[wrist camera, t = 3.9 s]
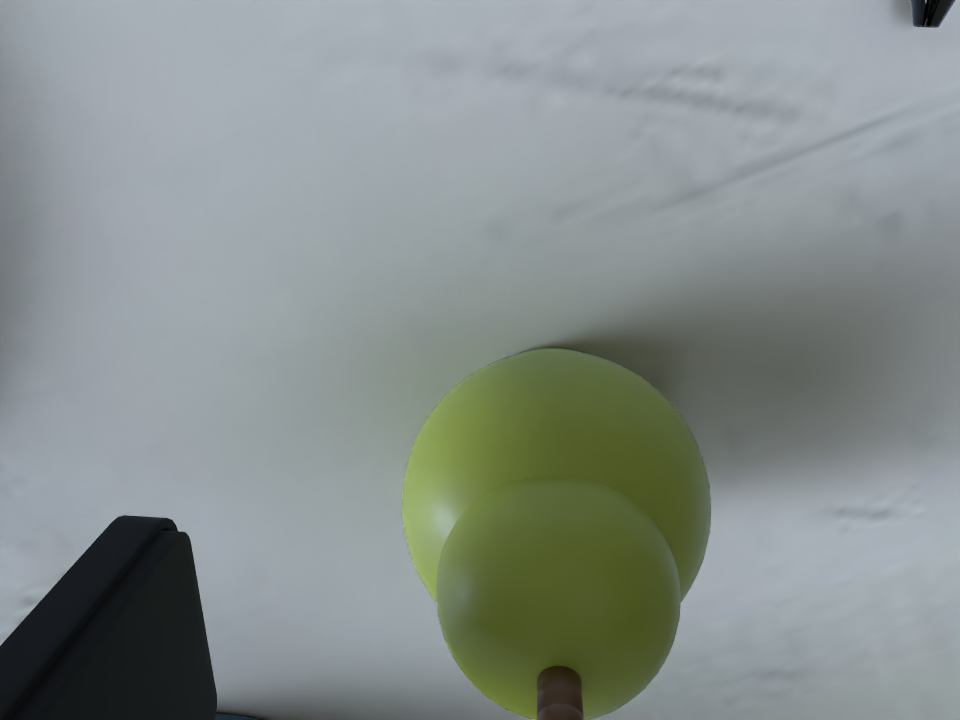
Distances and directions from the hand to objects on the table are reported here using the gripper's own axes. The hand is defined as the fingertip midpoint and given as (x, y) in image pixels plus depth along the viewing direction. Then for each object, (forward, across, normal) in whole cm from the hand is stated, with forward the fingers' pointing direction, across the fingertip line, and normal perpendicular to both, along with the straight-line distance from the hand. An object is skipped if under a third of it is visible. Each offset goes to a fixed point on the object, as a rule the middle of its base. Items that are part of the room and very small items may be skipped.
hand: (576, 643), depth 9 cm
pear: (+6, 0, 0) cm, 6 cm away
